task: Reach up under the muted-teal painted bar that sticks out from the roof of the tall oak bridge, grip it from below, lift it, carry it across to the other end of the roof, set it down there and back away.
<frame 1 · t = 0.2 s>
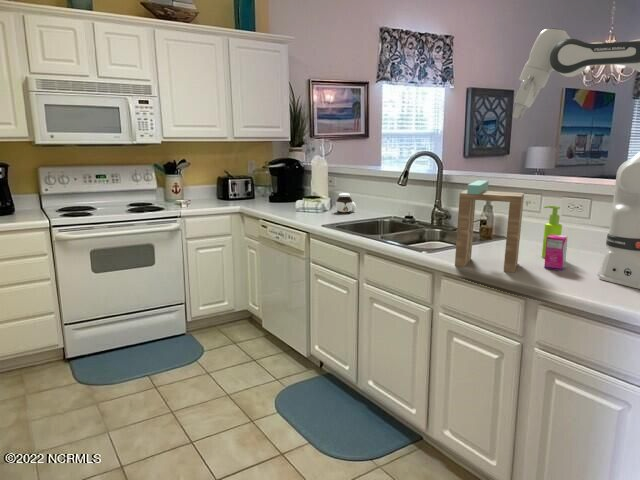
hand: (516, 118, 170), 52 cm above the worktop, tool tilted 20°, fingers open, 8 cm apart
bar: (478, 190, 178), point 26 cm above the worktop, touching bridge
bridge: (486, 264, 177), on the worktop
supplement box: (554, 268, 173), on the worktop
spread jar: (346, 212, 302), on the worktop
soap dispenser: (548, 258, 189), on the worktop
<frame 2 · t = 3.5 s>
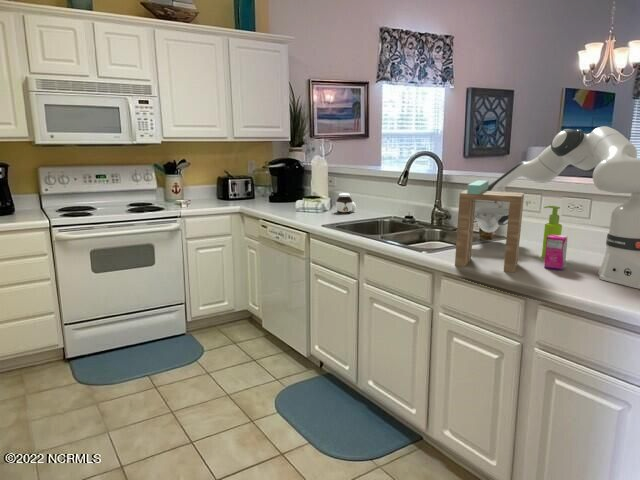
hand: (484, 199, 196), 21 cm above the worktop, tool pointing upward, fingers open, 8 cm apart
nothing on the worktop moved.
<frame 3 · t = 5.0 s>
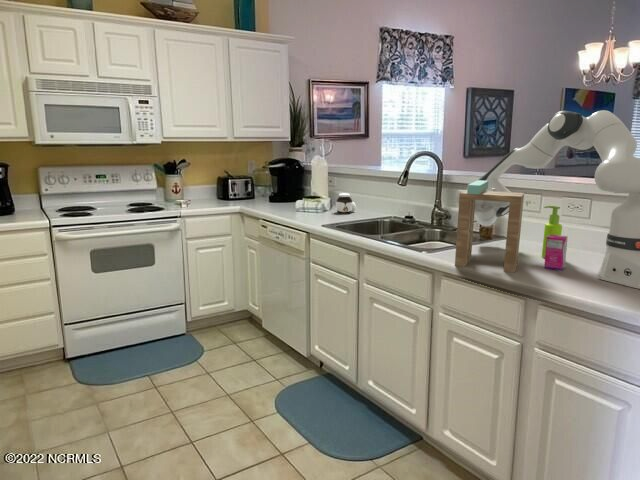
hand: (481, 189, 189), 25 cm above the worktop, tool pointing upward, fingers open, 8 cm apart
nothing on the worktop moved.
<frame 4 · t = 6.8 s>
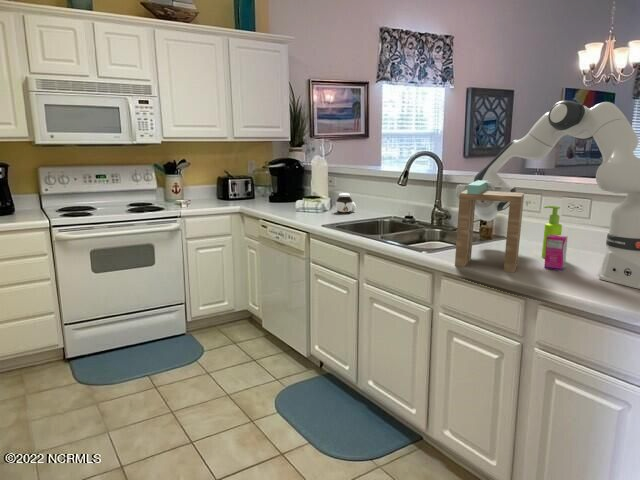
hand: (481, 184, 184), 28 cm above the worktop, tool pointing upward, fingers closed on bar, 4 cm apart
bar: (478, 190, 178), point 26 cm above the worktop, touching bridge, gripper
everything else where it was.
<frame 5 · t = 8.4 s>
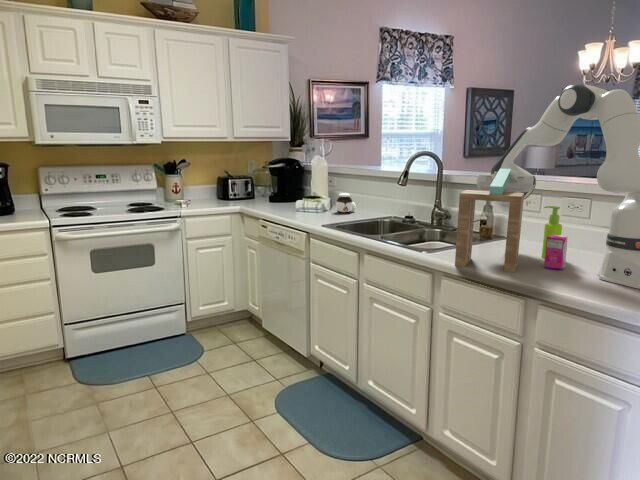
hand: (503, 173, 180), 32 cm above the worktop, tool pointing upward, fingers closed on bar, 4 cm apart
bar: (500, 185, 175), point 28 cm above the worktop, tilted 12°, touching bridge, gripper
everything else where it was.
when the fingers open (29 cm above the worktop, at t = 10.0 s): bar stays where it is, resting on bridge.
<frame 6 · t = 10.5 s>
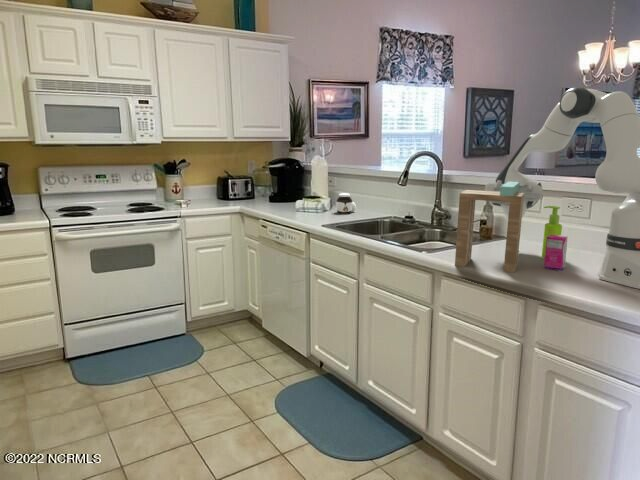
hand: (512, 182, 180), 29 cm above the worktop, tool pointing upward, fingers open, 8 cm apart
bar: (509, 192, 174), point 26 cm above the worktop, touching bridge
everything else where it was.
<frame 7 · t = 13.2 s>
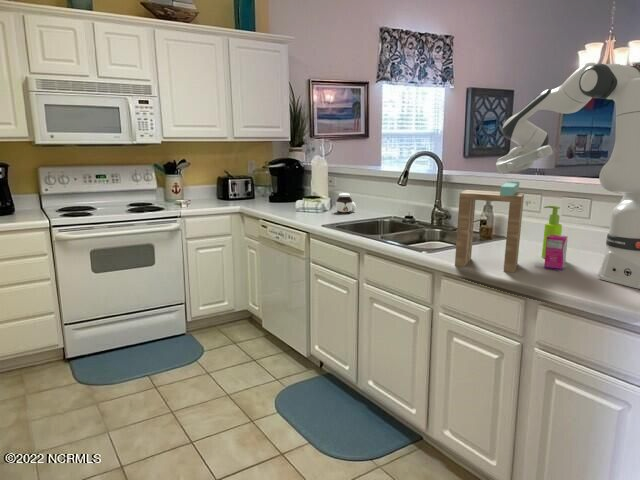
hand: (526, 160, 179), 37 cm above the worktop, tool horizontal, fingers open, 8 cm apart
nothing on the worktop moved.
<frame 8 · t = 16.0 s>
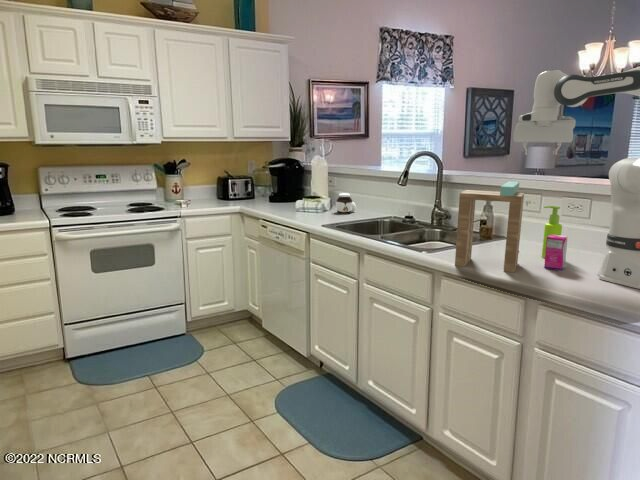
hand: (540, 154, 182), 39 cm above the worktop, tool pointing down, fingers open, 8 cm apart
nothing on the worktop moved.
at the end: bar inside the target area (0.1 cm from its centre), point 26.0 cm above the worktop; the gripper is holding nothing; bar tilted 0° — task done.
